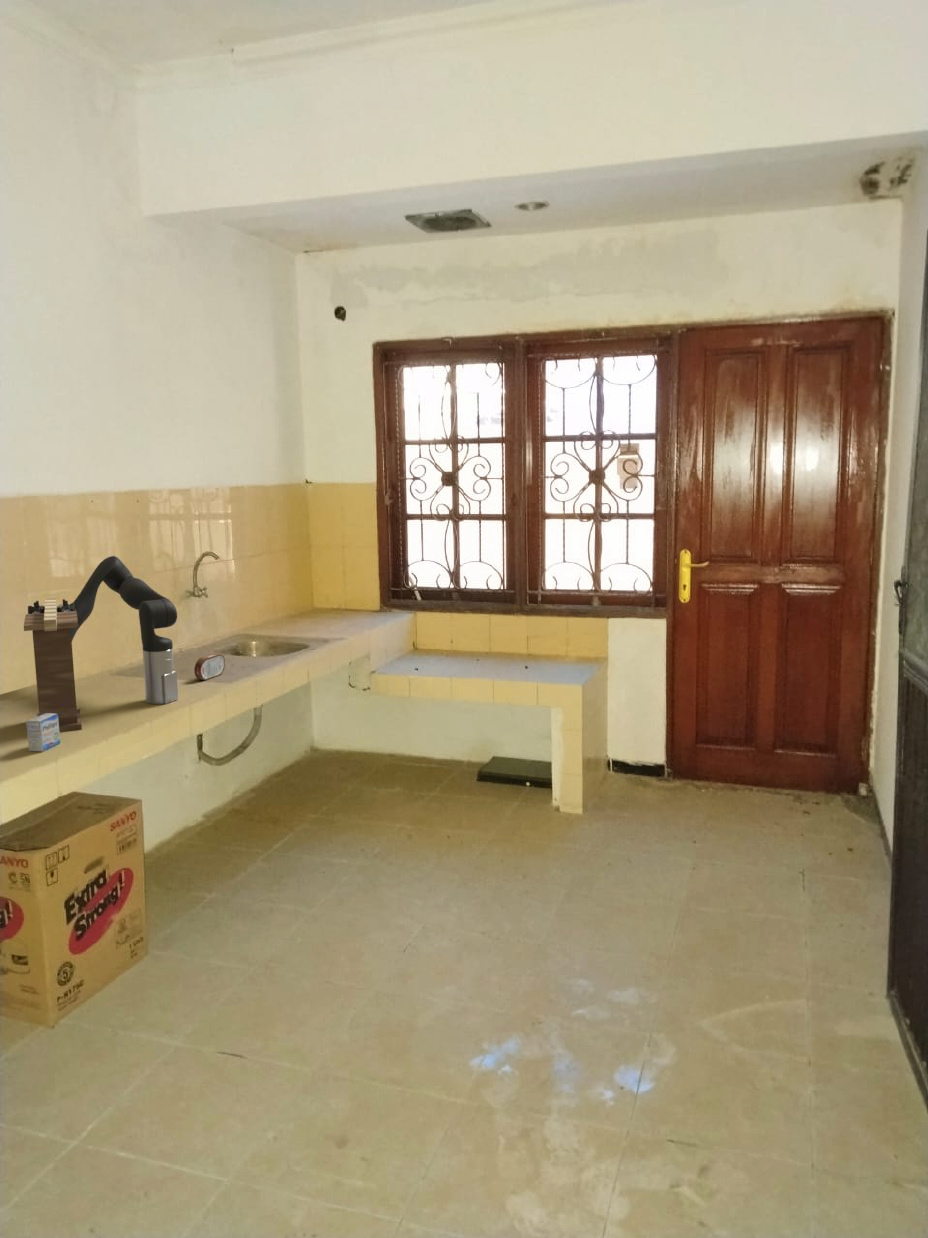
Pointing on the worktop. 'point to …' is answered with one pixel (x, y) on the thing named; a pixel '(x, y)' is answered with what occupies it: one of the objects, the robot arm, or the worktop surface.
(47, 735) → the medicine box
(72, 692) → the stand
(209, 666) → the tin
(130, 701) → the worktop surface
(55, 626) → the bar
